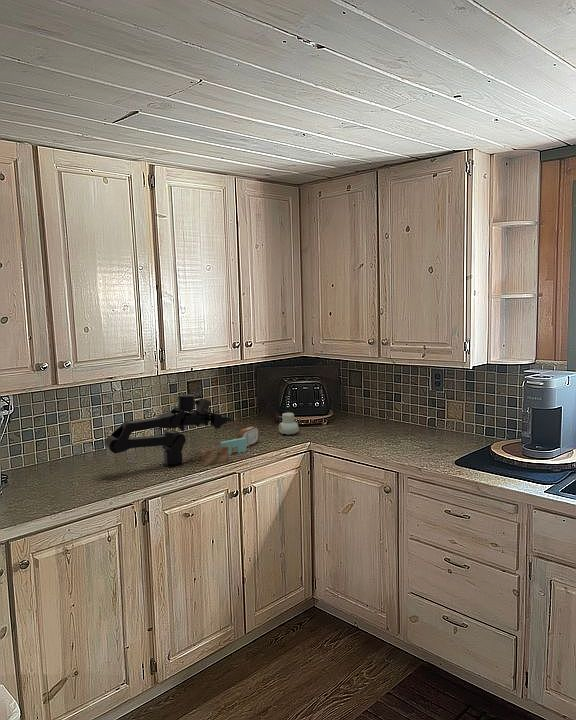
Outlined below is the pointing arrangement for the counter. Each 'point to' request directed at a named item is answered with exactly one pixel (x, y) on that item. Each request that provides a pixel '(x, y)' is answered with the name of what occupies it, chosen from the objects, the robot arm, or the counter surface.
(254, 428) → the tin
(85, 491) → the counter surface
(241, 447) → the notched teal slat
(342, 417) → the counter surface
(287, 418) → the air freshener
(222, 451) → the notched walnut block
